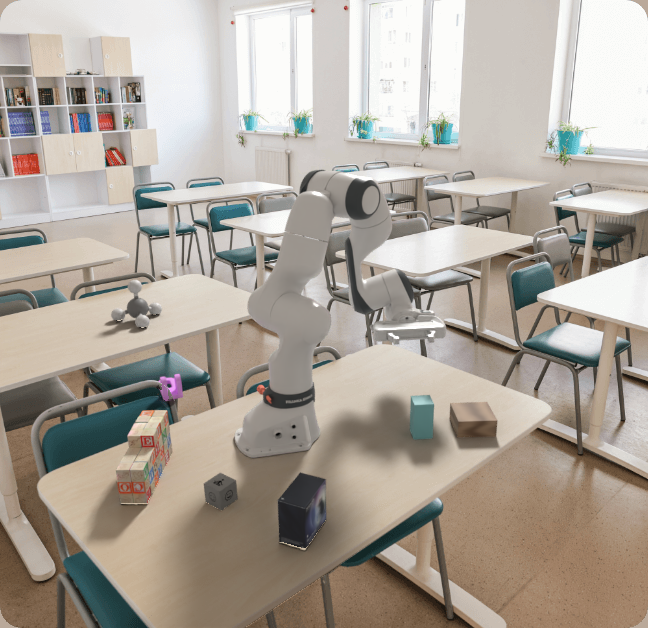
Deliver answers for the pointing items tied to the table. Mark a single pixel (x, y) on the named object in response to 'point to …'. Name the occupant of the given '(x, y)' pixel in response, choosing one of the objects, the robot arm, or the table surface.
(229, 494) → the dice cube
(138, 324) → the molecule model
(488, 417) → the walnut base
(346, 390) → the table surface
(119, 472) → the stack of blocks
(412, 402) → the teal pillar
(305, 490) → the small box
